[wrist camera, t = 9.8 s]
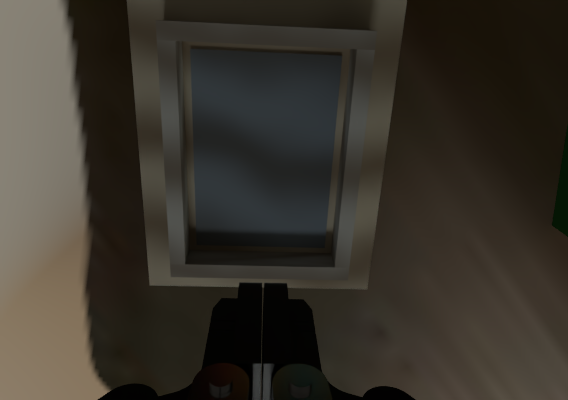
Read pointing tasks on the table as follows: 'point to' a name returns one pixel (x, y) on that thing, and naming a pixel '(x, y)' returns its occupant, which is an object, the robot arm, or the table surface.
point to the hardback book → (562, 194)
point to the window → (263, 137)
